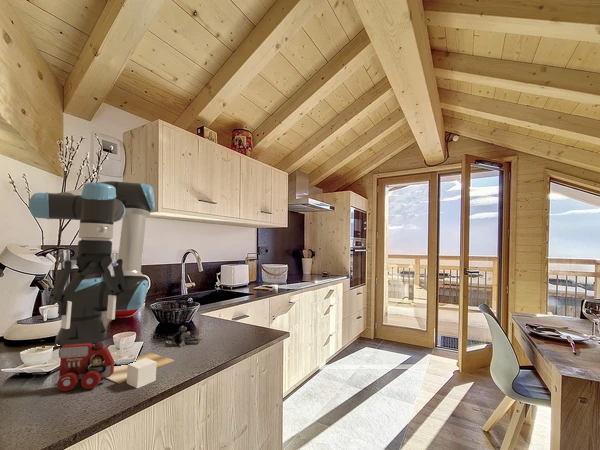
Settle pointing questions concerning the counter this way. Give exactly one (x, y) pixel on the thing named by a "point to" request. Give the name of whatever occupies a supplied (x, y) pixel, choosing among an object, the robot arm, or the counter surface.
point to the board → (121, 371)
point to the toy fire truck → (84, 365)
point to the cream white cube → (141, 372)
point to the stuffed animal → (182, 338)
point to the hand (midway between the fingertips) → (89, 323)
